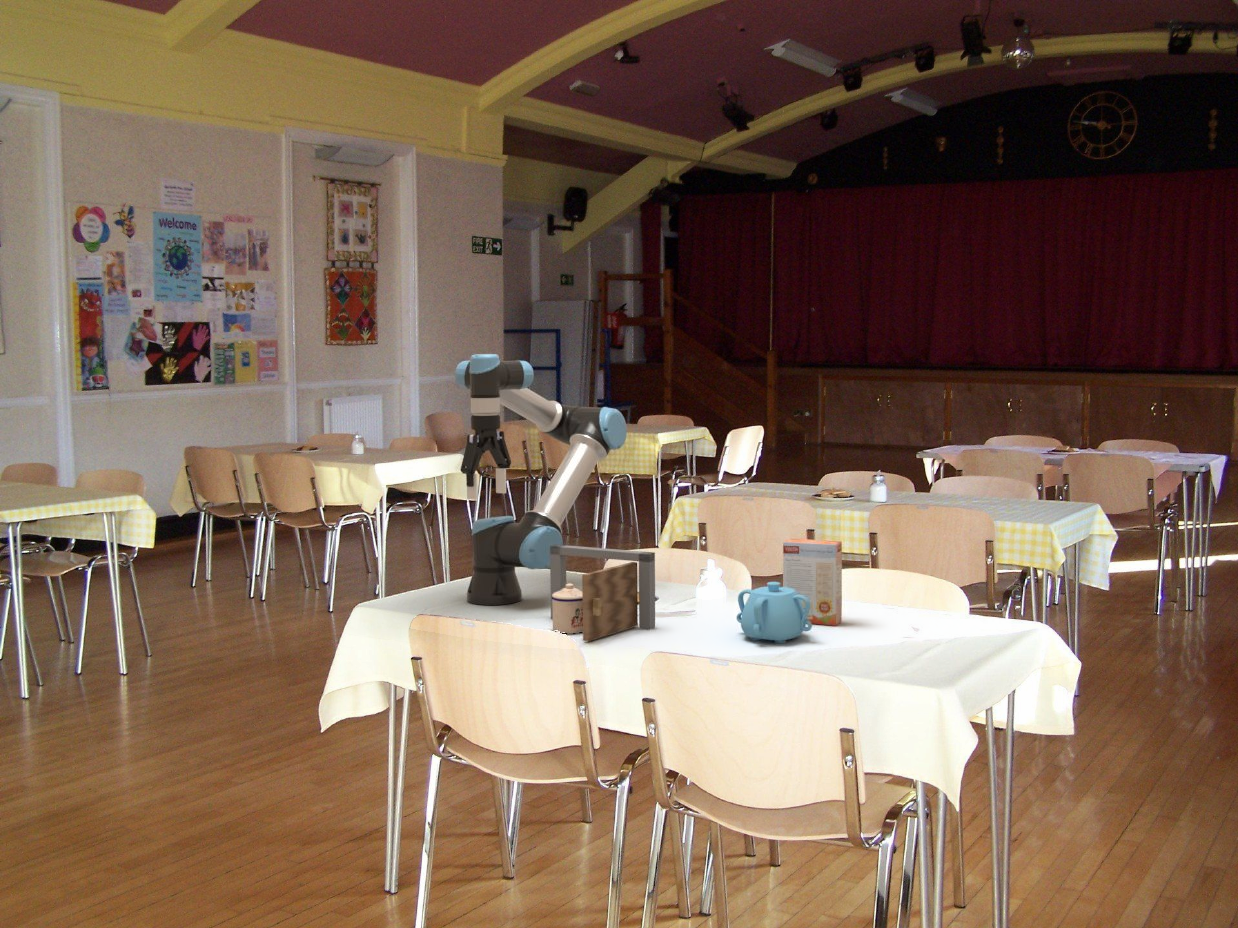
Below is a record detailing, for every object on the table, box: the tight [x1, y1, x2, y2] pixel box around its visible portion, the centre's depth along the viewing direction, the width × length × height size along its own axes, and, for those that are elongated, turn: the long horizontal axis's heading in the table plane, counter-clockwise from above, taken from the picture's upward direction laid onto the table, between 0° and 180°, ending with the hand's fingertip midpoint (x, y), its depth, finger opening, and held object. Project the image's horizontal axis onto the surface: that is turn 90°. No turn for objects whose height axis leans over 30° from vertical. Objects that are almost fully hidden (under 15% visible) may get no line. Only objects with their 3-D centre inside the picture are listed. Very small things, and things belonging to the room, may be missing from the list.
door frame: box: [549, 544, 656, 631], centre depth 325 cm, size 3×28×19 cm, turn 63°
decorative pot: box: [736, 581, 813, 644], centre depth 309 cm, size 16×16×14 cm
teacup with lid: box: [550, 583, 583, 635], centre depth 319 cm, size 12×9×12 cm
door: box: [581, 561, 639, 642], centre depth 312 cm, size 20×3×16 cm, turn 143°
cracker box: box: [782, 538, 843, 627], centre depth 325 cm, size 14×6×21 cm, turn 65°
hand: (487, 496), depth 331 cm, fingers open, 13 cm apart
